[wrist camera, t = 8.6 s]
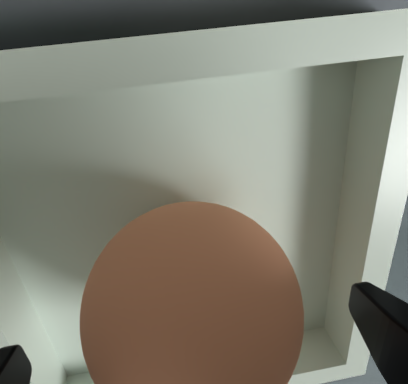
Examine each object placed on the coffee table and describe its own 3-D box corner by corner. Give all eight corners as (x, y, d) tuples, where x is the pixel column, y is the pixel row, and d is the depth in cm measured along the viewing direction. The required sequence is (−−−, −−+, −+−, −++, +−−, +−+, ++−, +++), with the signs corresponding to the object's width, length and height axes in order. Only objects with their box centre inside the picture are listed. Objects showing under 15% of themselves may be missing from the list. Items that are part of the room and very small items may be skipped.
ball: (262, 289, 13) (338, 462, 8) (119, 316, 12) (94, 522, 7) (261, 157, 10) (378, 282, 5) (78, 183, 10) (-12, 356, 4)
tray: (335, 327, 16) (364, 374, 13) (55, 381, 14) (37, 442, 12) (381, 12, 9) (452, 3, 7) (-109, 63, 8) (-208, 71, 6)
